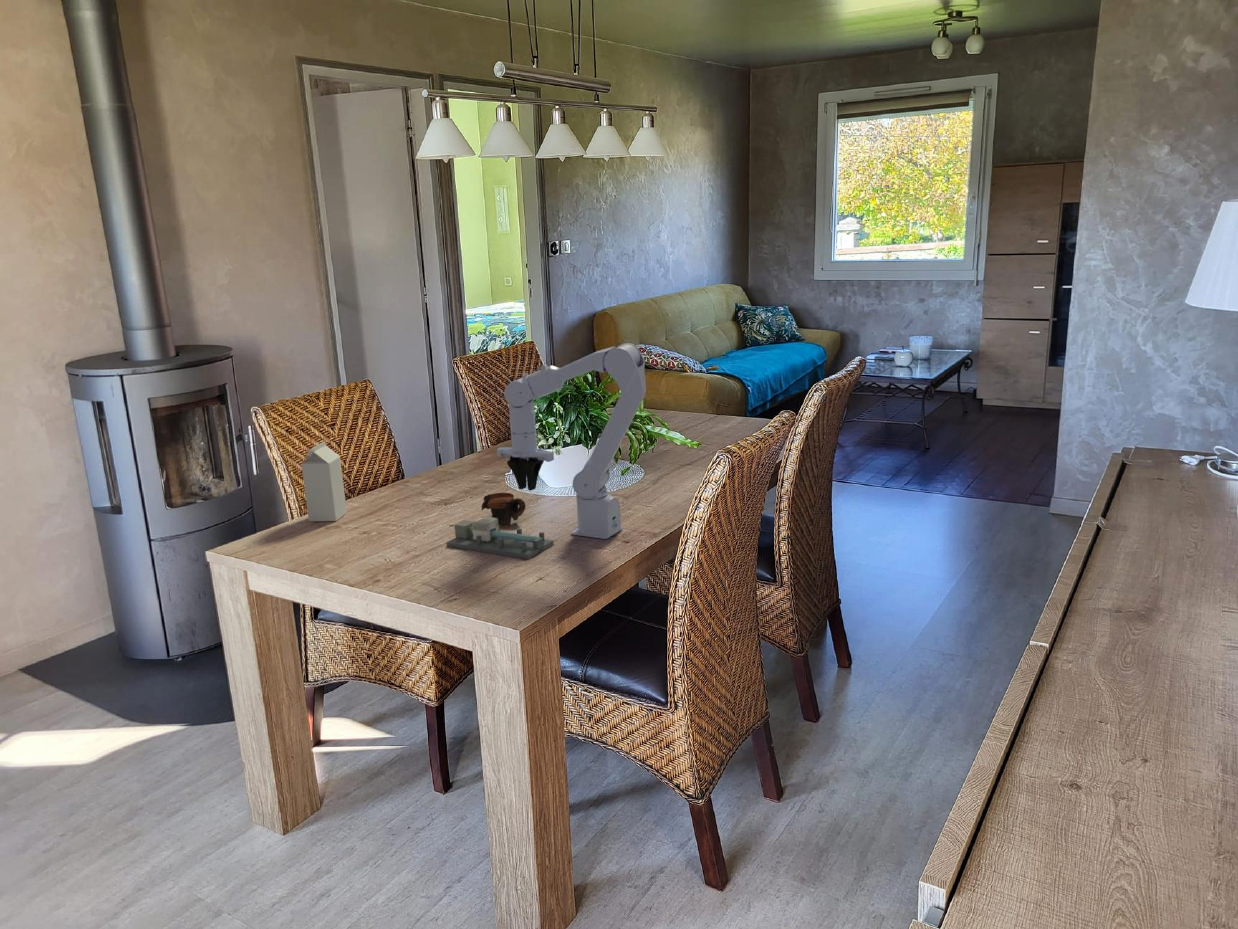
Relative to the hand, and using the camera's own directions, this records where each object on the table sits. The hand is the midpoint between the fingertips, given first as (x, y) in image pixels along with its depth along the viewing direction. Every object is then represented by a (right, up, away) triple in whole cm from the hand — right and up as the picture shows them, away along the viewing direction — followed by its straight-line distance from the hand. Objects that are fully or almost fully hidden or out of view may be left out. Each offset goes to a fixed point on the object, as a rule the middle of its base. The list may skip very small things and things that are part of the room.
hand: (527, 488), depth 212 cm
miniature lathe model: (-5, -12, -8) cm, 16 cm away
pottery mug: (-6, -8, +10) cm, 14 cm away
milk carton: (-52, -8, +19) cm, 56 cm away
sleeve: (-9, -11, -6) cm, 15 cm away
